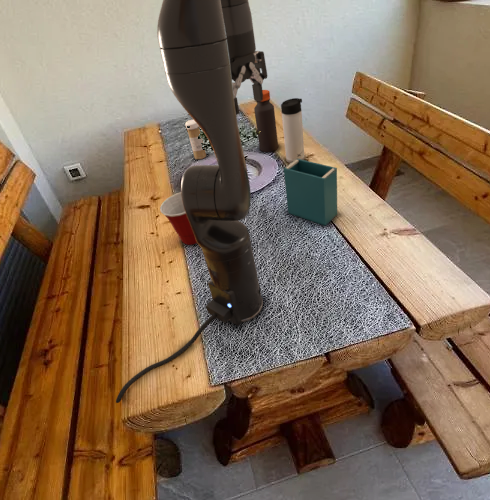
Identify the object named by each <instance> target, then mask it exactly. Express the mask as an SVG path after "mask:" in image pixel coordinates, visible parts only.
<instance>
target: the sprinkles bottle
mask: <svg viewBox="0 0 490 500" xmlns="http://www.w3.org/2000/svg"><path fill="white" fill-rule="evenodd" d="M184 124H185V129H186V130H187V134H188V139H189V141H190V146H191V149H192V152H193V157H194V159H195V160H203V159H204V158H206V157H207V153H206V149H205V150H203V149H202V144H201V143H203V144H204V140H203V137H202V138H201V139H198V136H199V134H200V133H201V128H200V127H199V126H198V124H197V123H196V122H195V121H194V119H189V120H187V121H186V122H185V123H184ZM187 126H190V128H187Z"/></svg>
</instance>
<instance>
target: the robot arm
mask: <svg viewBox="0 0 490 500" xmlns="http://www.w3.org/2000/svg"><path fill="white" fill-rule="evenodd" d="M158 14H159V15H158V19H157V26H156V34H157V43H158V47H159V51H160V56H161V60H162V64H163V70H164V73H165V78H166V83H167V84H168V87H169V89H170V91H171V92H172V94H173V96H174V97H175V98H176V100H177V101H178V103H179V104H180V105H181V106H182V108H183V109H184V111H186V113H187V114H188V115H189V116H190V117H191V119H192V120H194V121H195V122H196V123H197V124H198V126H199V129H200V130H201V131H202V132H203V133H204V135H205V137H206V138H207V140H208V142H209V143H210V146H211V147H212V150H213V153H214V155H215V159H216V162H217V164H197V165H191V166H189V167H188V168H187V169H185V171H184V173H183V175H182V178H181V182H180V192H181V196H182V202H183V206H184V209H185V212H186V215H187V218H188V220H189V223H190V225H191V228H192V230H193V233H194V236H195V239H196V241H197V243H196V244H197V245H198V246H199V247H200V248H201V250H202V253H203V257H204V260H205V264H206V267H207V270H208V274H209V277H210V280H209V281H208V282H207V285H208V289H209V291H210V292H209V293H210V294H211V298H212V299H211V301H209V302H208V303H207V304H206V305H205V308H206V311H207V314H209V315H210V316H209V317H208V318H207V320H205V322H203V323H202V324H201V326H200V327H199V328H198V329H197V330H196V332H195V333H194V335H193V336H192V338H191V339H190V340H188V342H187V343H186V344H185V345H183V346H182V347H181V348H180V349H179V350H177V351H176V352H174V353H173V354H171V355H170V356H168V357H167V358H164V359H162V360H160V361H157V362H155V363H152V364H151V365H148V366H147V367H145V368H144V369H142V370H141V371H139V372H137V373H136V374H135V375H134V376H133V377H131V378H130V379H129V380H128V381H127V382H126V383H125V384H124V385H123V386H122V388H121V389H120V391H119V392H118V394H117V396H116V399H115V403H116V404H119V403H121V402H122V400H123V397H124V395H125V393H126V392H127V390H128V389H130V387H131V386H132V385H133V384H134V383H135V382H137V381H138V380H140V379H141V378H142V377H143V376H144V375H146V374H147V373H149V372H151V371H153V370H155V369H157V368H160V367H162V366H164V365H166V364H168V363H171V362H173V360H175V359H176V358H178V357H179V356H181V355H182V354H184V353H185V352H186V351H187V350H188V349H190V347H191V346H192V345H193V344H194V343H195V342H196V341H197V340H198V338H199V337H200V335H201V334H202V332H204V330H206V328H207V327H208V326H209V325H210V324H211V323H212V322H213V321H214V320H215V319H217V320H219V321H220V322H222V323H224V324H226V323H228V322H230V323H232V324H233V325H235V326H240V325H241V324H242V323H246V322H249V321H251V320H253V319H255V318H257V317H258V316H259V314H260V313H261V311H262V310H263V307H264V299H263V296H262V294H263V293H262V292H263V291H262V289H261V286H260V283H259V277H258V271H257V266H256V261H255V257H254V250H253V246H252V240H251V235H250V231H249V229H248V227H247V225H246V224H244V223H243V222H242V221H241V220H244V219H245V218H247V216H248V214H249V212H250V209H251V208H250V207H251V197H252V195H251V194H252V193H251V184H250V178H249V172H248V168H247V164H246V158H245V154H244V149H243V144H242V139H241V135H240V130H239V123H238V118H237V115H239V114H240V109H239V102H238V97H237V94H238V90H239V89H240V88H241V85H242V83H244V82H246V81H247V80H250V82H251V83H252V84H251V88H252V95H253V100H254V101H255V102H256V101H259V102H260V101H262V100H263V91H262V90H263V83H264V80H266V79H268V70H267V63H266V57H265V52H264V51H261V50H257V47H256V40H255V39H256V38H255V32H254V23H253V16H252V11H251V7H250V1H249V0H162V2H161V6H160V11H159V13H158Z"/></svg>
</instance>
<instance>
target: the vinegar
mask: <svg viewBox="0 0 490 500" xmlns="http://www.w3.org/2000/svg"><path fill="white" fill-rule="evenodd" d="M262 91H263V100H262V101H260V102H259V101H255V102H256V105H255V106H254V108H253V110H254V119H255V124H256V132H257V139H258V145H259V150H260V151H261V152H263V153H272V152H275V151H277V150H278V148H279V141H278V139H279V138H278V132H277V122H276V113H275V106H274V104H273V103H271V94H270V93H271V92H270V90H269V89H262ZM259 131H261V132H260V134H258V132H259Z"/></svg>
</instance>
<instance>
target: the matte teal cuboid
mask: <svg viewBox="0 0 490 500" xmlns="http://www.w3.org/2000/svg"><path fill="white" fill-rule="evenodd" d="M283 177H284V178H283V179H284V185H285V186H284V187H285V195H286V205H287V213H288V214H289V215H292V216H294V217H297V218H300V219H303V220H307V221H309V222H312V223H315V224H318V225H321V226H323V227H326V226H327V225H328V224H329V223H330V222H332V221H333V219H334V218H335V217H336V216H337V215H338V168H337V167H335V166H330V165H326V164H323V163H317V162H314V161H311V160H310V161H309V160H307V159H304V160H301V159H296V160H294V161H293V162H292V163H288V165H286V166H285V167H284V168H283Z"/></svg>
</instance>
